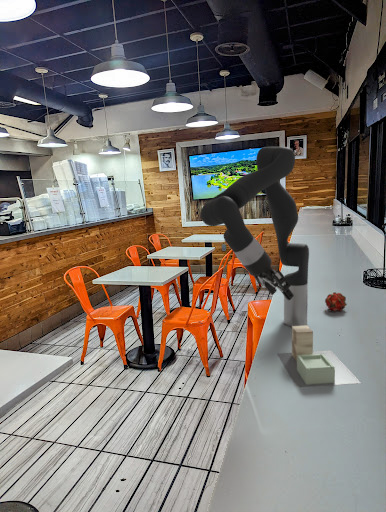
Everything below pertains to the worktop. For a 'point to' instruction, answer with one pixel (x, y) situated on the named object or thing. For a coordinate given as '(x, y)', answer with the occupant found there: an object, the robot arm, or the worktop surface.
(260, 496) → the worktop surface
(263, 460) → the worktop surface
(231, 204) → the robot arm
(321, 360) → the green plinth
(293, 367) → the grey flat plate
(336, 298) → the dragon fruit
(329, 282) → the worktop surface
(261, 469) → the worktop surface
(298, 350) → the birch pillar
